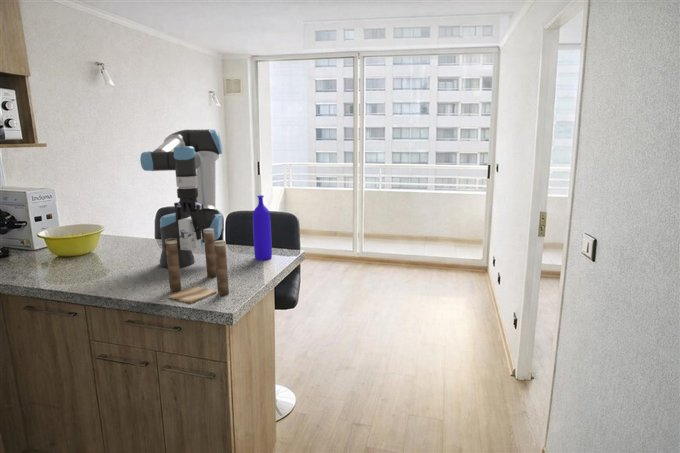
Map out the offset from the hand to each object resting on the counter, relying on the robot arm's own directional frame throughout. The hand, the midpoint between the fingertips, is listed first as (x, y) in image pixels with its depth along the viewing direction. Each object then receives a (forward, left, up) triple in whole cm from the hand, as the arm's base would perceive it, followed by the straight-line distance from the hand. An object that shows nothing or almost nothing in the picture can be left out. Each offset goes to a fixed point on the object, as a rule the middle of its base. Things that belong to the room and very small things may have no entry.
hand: (191, 246), depth 173 cm
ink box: (0, 0, -1) cm, 1 cm away
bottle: (+1, +41, -15) cm, 44 cm away
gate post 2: (-1, +10, -15) cm, 18 cm away
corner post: (+18, -4, -15) cm, 24 cm away
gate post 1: (-1, -9, -15) cm, 18 cm away
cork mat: (+9, -10, -15) cm, 21 cm away
